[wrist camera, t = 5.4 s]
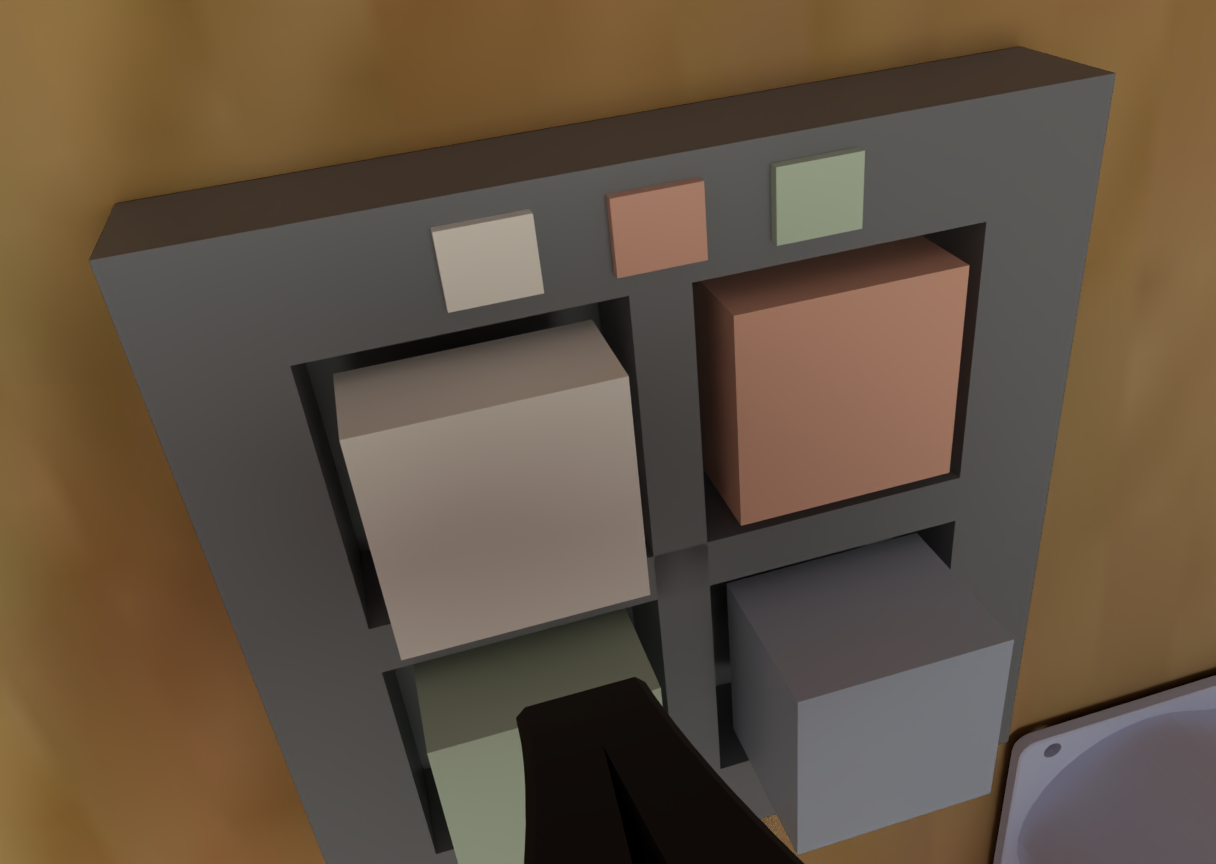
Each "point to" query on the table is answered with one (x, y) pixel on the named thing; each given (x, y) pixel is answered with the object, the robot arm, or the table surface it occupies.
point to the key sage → (510, 720)
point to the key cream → (496, 484)
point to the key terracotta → (829, 375)
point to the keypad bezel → (640, 339)
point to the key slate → (865, 688)
